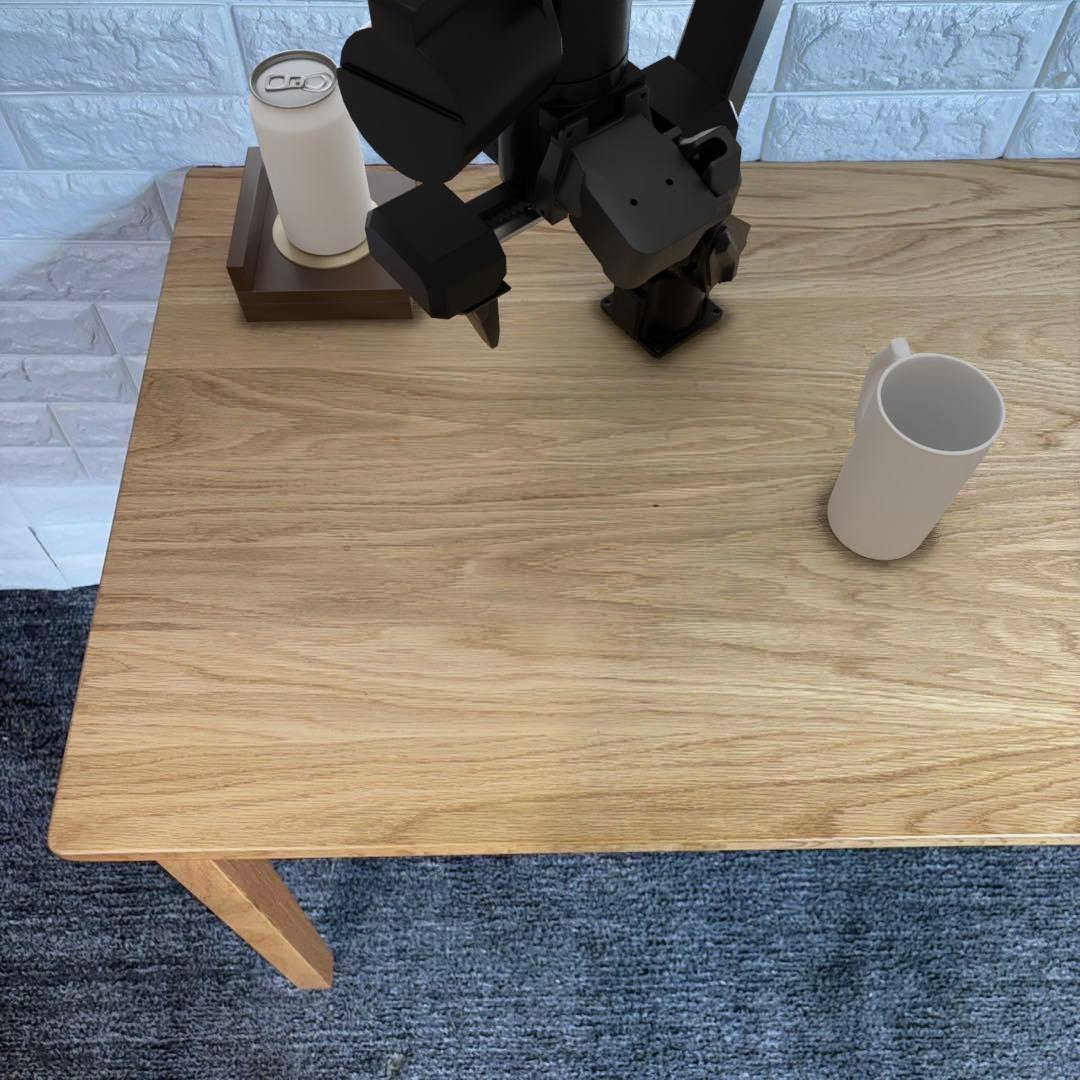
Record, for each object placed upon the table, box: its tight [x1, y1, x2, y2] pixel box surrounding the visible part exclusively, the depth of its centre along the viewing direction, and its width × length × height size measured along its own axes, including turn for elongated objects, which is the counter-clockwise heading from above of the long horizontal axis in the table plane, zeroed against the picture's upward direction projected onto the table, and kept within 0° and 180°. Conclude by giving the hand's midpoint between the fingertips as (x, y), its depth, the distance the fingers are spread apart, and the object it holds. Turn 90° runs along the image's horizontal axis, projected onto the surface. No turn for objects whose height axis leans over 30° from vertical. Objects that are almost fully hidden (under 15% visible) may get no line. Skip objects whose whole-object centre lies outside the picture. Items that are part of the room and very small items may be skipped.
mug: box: [826, 337, 1007, 561], centre depth 59 cm, size 10×7×12 cm, turn 10°
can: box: [248, 48, 372, 256], centre depth 67 cm, size 6×6×12 cm
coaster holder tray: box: [225, 146, 418, 322], centre depth 72 cm, size 12×12×5 cm
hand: (556, 303), depth 55 cm, fingers open, 9 cm apart
